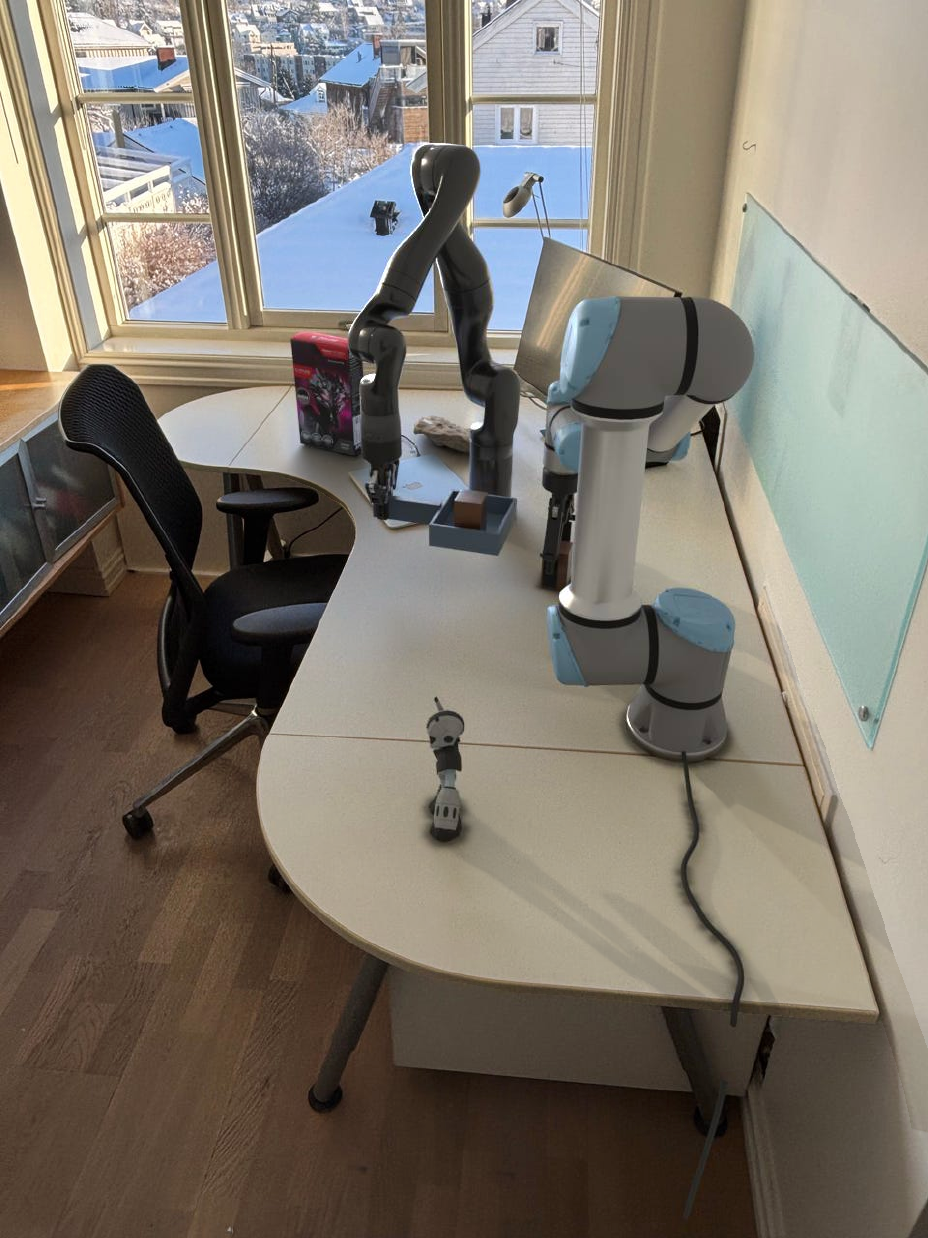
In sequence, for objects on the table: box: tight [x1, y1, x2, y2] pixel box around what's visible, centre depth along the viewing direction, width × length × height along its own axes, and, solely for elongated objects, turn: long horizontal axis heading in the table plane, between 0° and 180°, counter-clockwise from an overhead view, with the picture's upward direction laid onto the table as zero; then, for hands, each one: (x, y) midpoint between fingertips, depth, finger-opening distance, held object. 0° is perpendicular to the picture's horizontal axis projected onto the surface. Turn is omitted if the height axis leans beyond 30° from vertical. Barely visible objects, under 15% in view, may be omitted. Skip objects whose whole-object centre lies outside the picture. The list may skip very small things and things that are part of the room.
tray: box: [372, 489, 518, 557], centre depth 176 cm, size 15×27×5 cm, turn 75°
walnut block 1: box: [454, 488, 487, 531], centre depth 171 cm, size 5×5×8 cm
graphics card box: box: [289, 330, 365, 456], centre depth 225 cm, size 17×7×27 cm, turn 62°
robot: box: [425, 696, 465, 842], centre depth 121 cm, size 20×5×20 cm, turn 3°
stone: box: [412, 415, 470, 453], centre depth 232 cm, size 21×15×6 cm
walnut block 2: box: [539, 541, 574, 591], centre depth 177 cm, size 5×5×8 cm
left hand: (384, 516), depth 179 cm, fingers closed on tray, 1 cm apart
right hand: (556, 568), depth 178 cm, fingers open, 13 cm apart
